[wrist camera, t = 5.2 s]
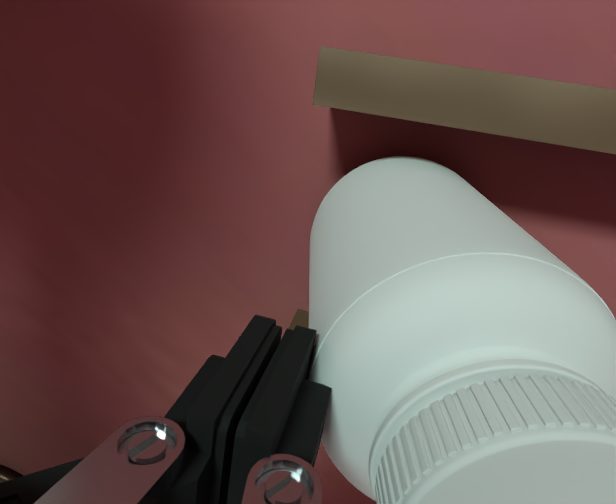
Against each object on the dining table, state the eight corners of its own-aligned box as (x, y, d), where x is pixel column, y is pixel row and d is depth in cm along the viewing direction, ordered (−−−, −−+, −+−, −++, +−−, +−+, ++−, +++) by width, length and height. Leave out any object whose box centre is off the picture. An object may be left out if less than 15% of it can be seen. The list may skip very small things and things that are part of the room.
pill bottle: (426, 113, 19) (709, 269, 6) (506, 255, 22) (831, 595, 8) (274, 214, 21) (213, 516, 8) (365, 334, 24) (442, 719, 10)
